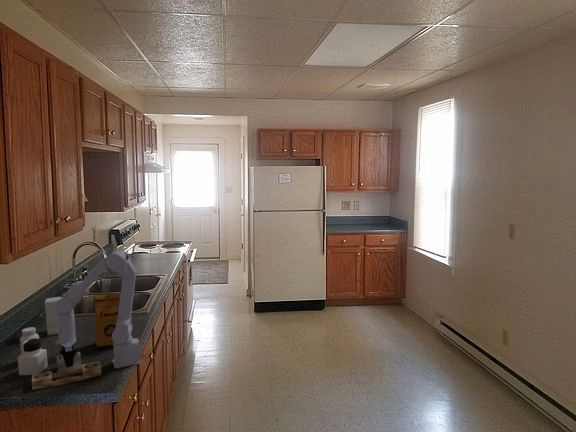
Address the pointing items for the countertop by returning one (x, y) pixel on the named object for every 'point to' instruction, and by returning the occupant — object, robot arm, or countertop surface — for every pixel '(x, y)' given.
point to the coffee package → (106, 317)
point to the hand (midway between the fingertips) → (69, 362)
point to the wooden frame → (46, 377)
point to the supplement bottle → (28, 335)
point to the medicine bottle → (32, 358)
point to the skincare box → (51, 315)
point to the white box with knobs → (63, 367)
